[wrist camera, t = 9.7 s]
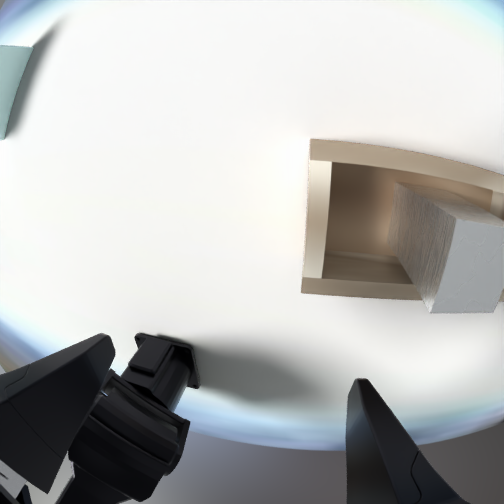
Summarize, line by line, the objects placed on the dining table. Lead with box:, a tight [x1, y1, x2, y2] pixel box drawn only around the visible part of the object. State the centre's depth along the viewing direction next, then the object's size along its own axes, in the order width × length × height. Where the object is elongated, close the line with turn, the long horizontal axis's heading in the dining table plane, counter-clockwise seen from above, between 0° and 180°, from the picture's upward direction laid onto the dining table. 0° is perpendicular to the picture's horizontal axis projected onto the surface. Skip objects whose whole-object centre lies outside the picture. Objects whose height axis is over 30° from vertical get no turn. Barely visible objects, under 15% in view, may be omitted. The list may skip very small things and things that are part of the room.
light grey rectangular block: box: [387, 182, 504, 313], centre depth 12 cm, size 4×4×8 cm
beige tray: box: [301, 139, 504, 301], centre depth 14 cm, size 8×15×4 cm, turn 90°
